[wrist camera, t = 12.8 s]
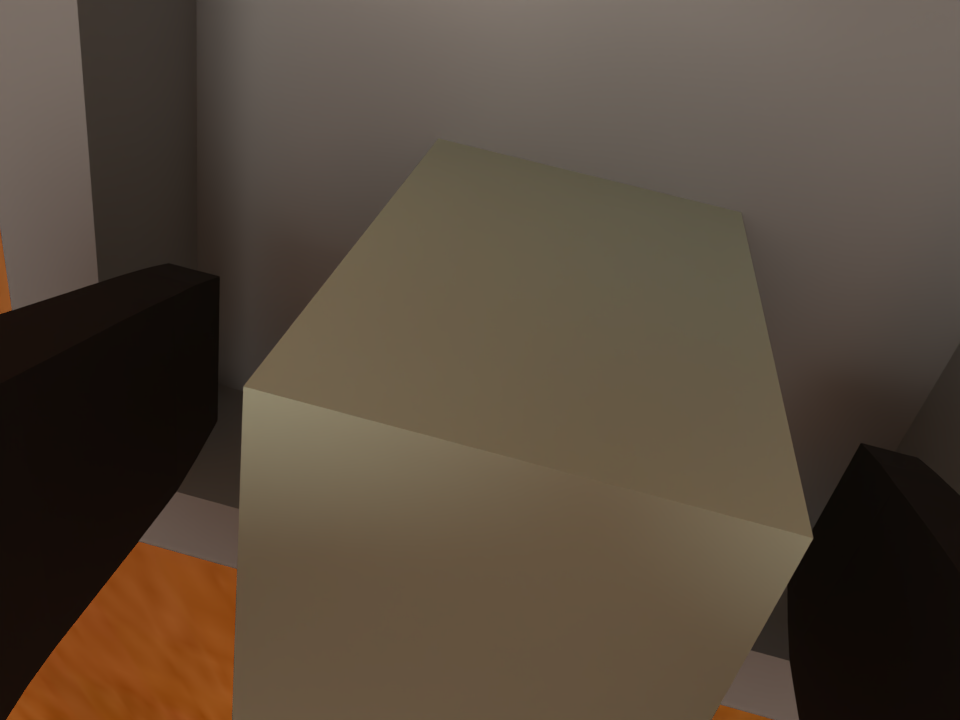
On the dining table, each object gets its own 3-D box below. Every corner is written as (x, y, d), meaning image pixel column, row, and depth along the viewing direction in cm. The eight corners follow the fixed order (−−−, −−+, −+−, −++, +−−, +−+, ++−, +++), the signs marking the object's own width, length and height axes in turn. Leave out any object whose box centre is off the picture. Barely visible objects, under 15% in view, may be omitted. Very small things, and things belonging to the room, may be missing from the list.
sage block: (649, 451, 13) (641, 842, 8) (398, 386, 13) (231, 723, 8) (741, 212, 11) (813, 538, 6) (438, 137, 11) (243, 385, 6)
